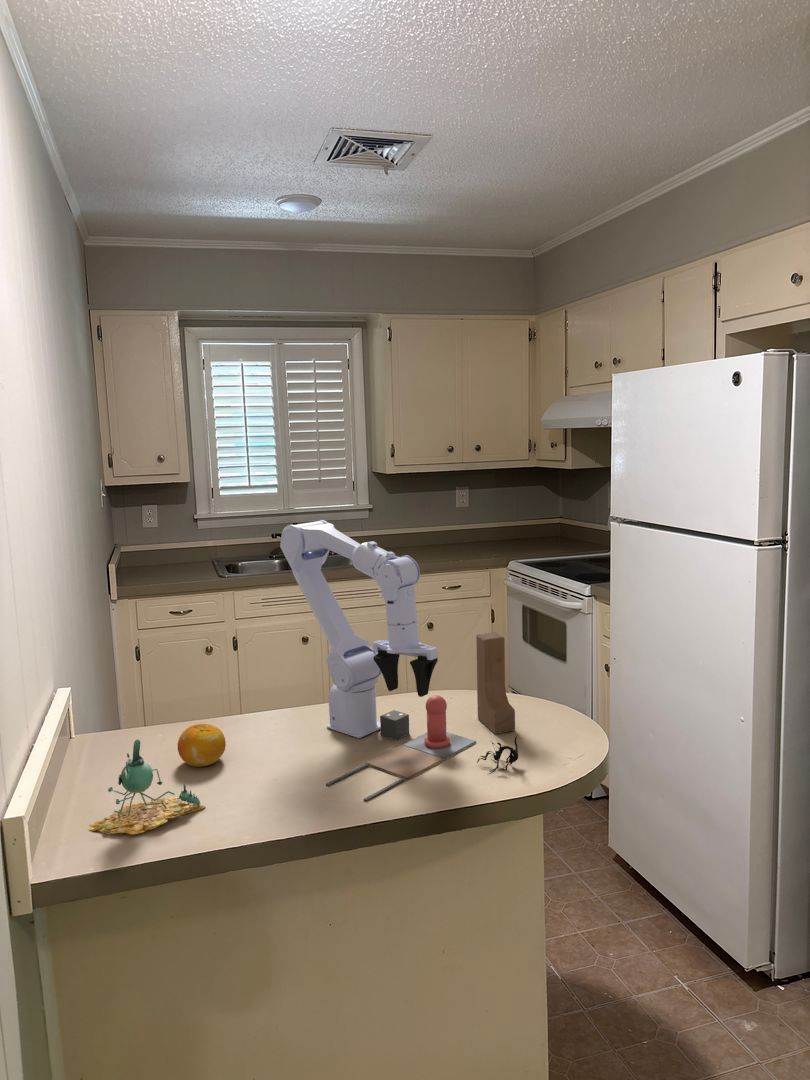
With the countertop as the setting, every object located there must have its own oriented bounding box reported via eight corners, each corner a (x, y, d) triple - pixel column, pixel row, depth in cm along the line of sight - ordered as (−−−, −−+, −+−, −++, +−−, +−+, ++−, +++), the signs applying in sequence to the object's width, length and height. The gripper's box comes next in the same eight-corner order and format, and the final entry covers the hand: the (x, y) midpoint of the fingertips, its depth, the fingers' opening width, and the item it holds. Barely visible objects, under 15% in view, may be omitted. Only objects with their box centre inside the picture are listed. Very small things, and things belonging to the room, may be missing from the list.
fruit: (210, 758, 140) (204, 714, 143) (170, 771, 142) (165, 728, 145) (236, 761, 147) (231, 719, 150) (198, 774, 149) (193, 732, 153)
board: (325, 784, 136) (325, 782, 136) (435, 730, 158) (435, 728, 158) (367, 802, 129) (367, 799, 129) (475, 742, 151) (475, 740, 151)
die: (380, 735, 156) (380, 715, 156) (394, 729, 159) (393, 709, 159) (395, 740, 154) (395, 720, 153) (409, 733, 157) (408, 714, 156)
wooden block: (515, 731, 156) (515, 643, 153) (494, 734, 155) (493, 645, 152) (497, 715, 165) (495, 631, 162) (477, 718, 163) (475, 634, 161)
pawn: (419, 744, 150) (417, 696, 149) (435, 736, 154) (434, 689, 152) (439, 751, 147) (437, 702, 146) (454, 742, 151) (453, 694, 149)
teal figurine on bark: (205, 830, 122) (187, 741, 120) (84, 857, 119) (63, 766, 117) (208, 800, 132) (191, 717, 129) (96, 825, 129) (77, 740, 126)
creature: (477, 781, 138) (522, 773, 137) (470, 752, 137) (515, 744, 136) (480, 762, 146) (523, 754, 144) (473, 734, 145) (516, 727, 144)
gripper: (359, 623, 150) (365, 692, 152) (417, 629, 141) (423, 704, 142) (384, 615, 155) (390, 682, 157) (442, 621, 146) (447, 693, 147)
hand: (407, 692), depth 150 cm, fingers open, 7 cm apart
